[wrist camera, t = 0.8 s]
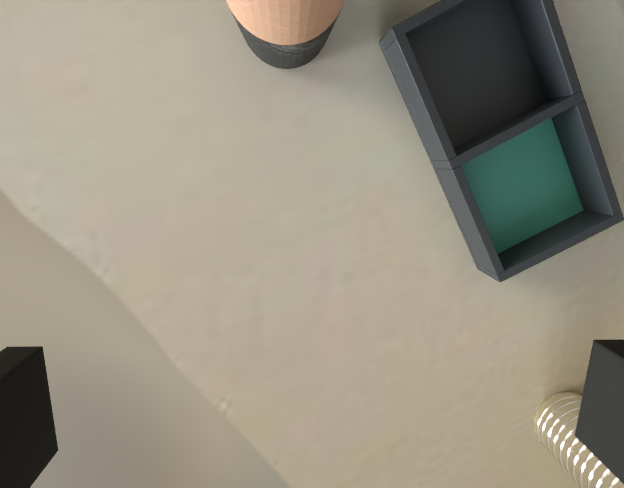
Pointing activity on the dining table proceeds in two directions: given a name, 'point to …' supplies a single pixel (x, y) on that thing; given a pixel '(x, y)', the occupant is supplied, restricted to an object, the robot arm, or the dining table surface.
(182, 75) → the dining table surface
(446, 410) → the dining table surface
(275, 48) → the travel mug
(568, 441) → the water bottle
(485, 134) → the divided organizer tray
